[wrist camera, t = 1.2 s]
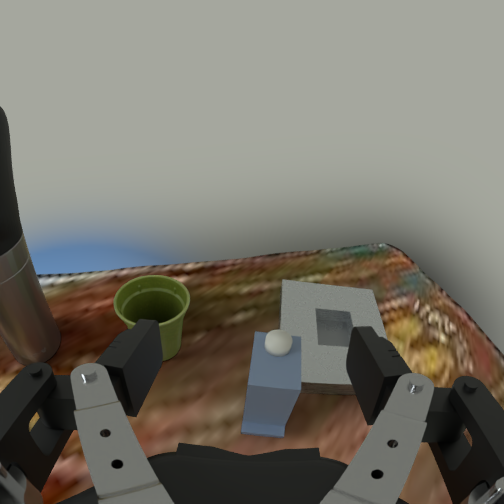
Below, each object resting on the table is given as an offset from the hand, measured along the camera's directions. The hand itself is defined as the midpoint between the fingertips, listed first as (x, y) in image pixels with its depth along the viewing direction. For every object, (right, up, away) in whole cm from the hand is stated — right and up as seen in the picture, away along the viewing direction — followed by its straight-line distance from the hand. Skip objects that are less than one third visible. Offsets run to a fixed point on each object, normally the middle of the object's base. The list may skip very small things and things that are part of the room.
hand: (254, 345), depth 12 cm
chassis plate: (+12, -9, +30) cm, 34 cm away
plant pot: (-13, -9, +27) cm, 31 cm away
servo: (+1, -15, +19) cm, 24 cm away
